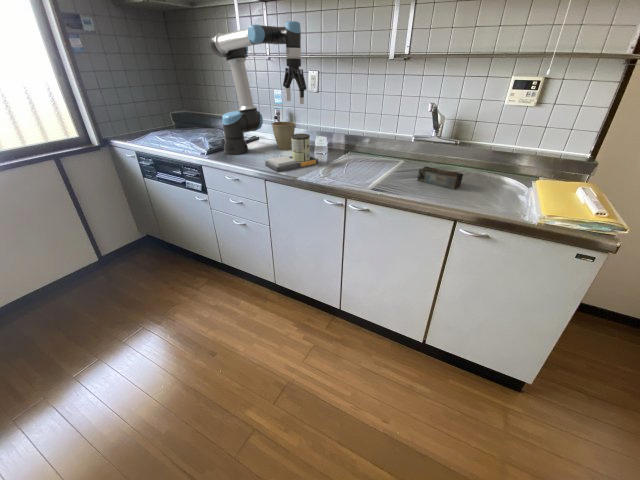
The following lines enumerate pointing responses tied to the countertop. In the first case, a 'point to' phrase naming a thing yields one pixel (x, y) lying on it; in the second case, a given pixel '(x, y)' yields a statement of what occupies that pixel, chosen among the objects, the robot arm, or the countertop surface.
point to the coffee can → (300, 147)
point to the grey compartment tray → (288, 163)
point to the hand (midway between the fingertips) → (294, 102)
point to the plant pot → (283, 134)
